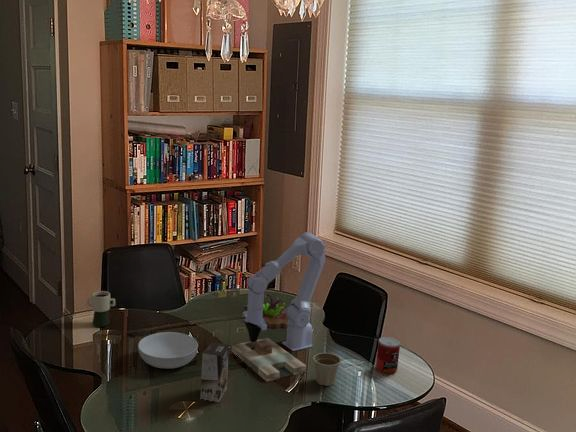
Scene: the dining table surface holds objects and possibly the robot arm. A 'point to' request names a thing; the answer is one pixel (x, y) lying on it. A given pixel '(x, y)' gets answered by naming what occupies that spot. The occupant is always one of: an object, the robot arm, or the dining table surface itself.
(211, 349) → the coffee box
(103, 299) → the character mug
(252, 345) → the cream slotted board
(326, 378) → the flower pot
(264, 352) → the walnut block
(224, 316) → the dining table surface
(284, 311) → the plant
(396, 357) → the canned food
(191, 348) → the serving bowl
